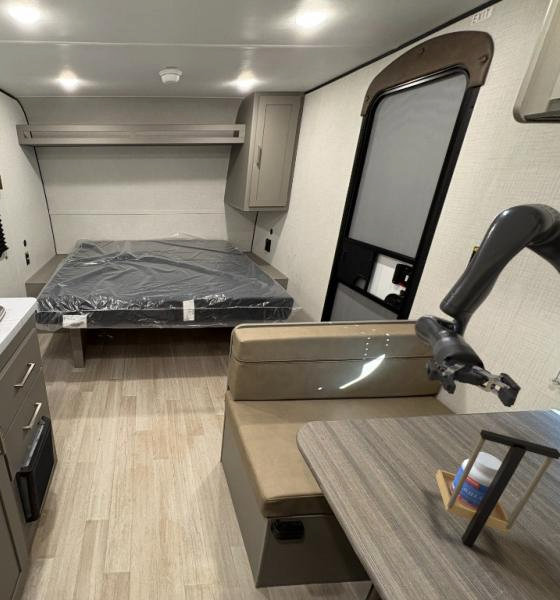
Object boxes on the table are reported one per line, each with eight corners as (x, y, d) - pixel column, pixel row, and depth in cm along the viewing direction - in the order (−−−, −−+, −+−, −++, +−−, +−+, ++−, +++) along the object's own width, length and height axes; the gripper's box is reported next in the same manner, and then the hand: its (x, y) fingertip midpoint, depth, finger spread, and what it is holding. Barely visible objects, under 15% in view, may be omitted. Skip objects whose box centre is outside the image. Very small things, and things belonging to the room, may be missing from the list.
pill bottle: (448, 498, 60) (467, 460, 56) (450, 480, 63) (467, 442, 60) (489, 518, 56) (511, 479, 52) (488, 497, 60) (509, 459, 56)
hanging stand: (478, 515, 64) (532, 417, 54) (497, 562, 56) (563, 457, 47) (424, 496, 67) (466, 401, 58) (435, 538, 60) (485, 436, 50)
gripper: (423, 337, 78) (440, 371, 64) (502, 351, 71) (539, 391, 58) (414, 363, 80) (429, 401, 67) (489, 379, 74) (522, 423, 61)
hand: (480, 396), depth 63 cm, fingers open, 8 cm apart
